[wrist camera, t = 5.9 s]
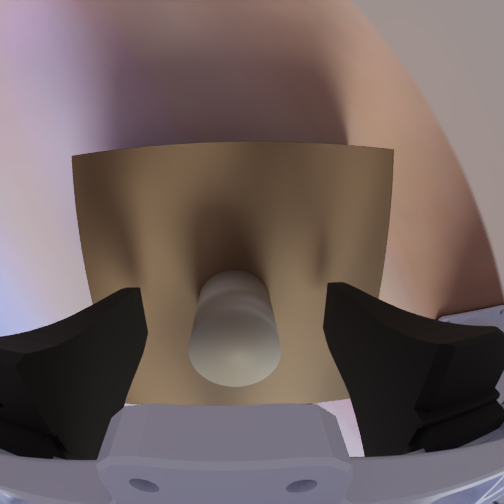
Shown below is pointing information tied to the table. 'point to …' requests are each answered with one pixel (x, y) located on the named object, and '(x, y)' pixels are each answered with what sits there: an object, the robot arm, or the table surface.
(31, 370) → the robot arm
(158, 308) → the cover
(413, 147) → the table surface
